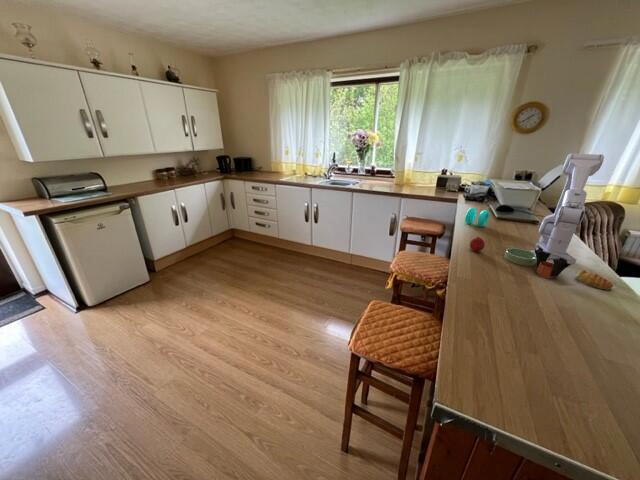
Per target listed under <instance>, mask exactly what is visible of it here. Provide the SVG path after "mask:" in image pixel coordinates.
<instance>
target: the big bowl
mask: <svg viewBox="0 0 640 480" xmlns="http://www.w3.org/2000/svg"><path fill="white" fill-rule="evenodd" d="M503 257H504V259H505V260H507V261H508V262H511V263H513V264H516V265H519V266H524V267H525V266H527V267H532V266H536V264H537V259H536V254H535V253H533V252H531V251H530V250H527V249H523V248H517V247H509V248H506V249H505V252H504V256H503Z"/></svg>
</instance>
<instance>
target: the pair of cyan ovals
mask: <svg viewBox="0 0 640 480" xmlns="http://www.w3.org/2000/svg"><path fill="white" fill-rule="evenodd" d="M476 216H477V209H476V208H475V207H470V208H469V209H468V210H467V211H466V213H465V216H464V222H465V224H466V225H470V224H472V223H473V222H474V220H476V222H477V223H476V225H477V226H478V227H479V228H483V227H485V226H486V224H487V222H488V221H489V216H490V212H489V210H488V209H484V210H482V211H481V212H480V213H479V214H478V216H477V219H476Z"/></svg>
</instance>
